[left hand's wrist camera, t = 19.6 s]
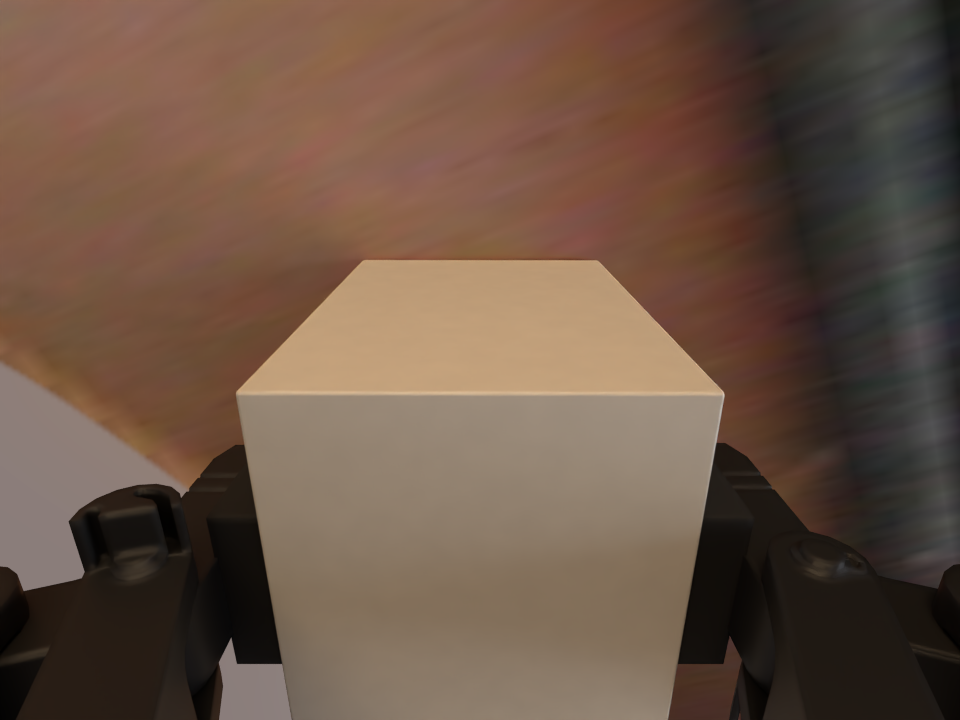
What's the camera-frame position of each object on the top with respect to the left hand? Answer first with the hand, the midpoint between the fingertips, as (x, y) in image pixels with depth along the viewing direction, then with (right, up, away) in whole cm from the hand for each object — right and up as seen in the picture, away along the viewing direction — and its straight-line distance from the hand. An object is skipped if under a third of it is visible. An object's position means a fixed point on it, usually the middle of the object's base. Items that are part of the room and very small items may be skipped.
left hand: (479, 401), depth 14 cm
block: (0, +1, +1) cm, 1 cm away
